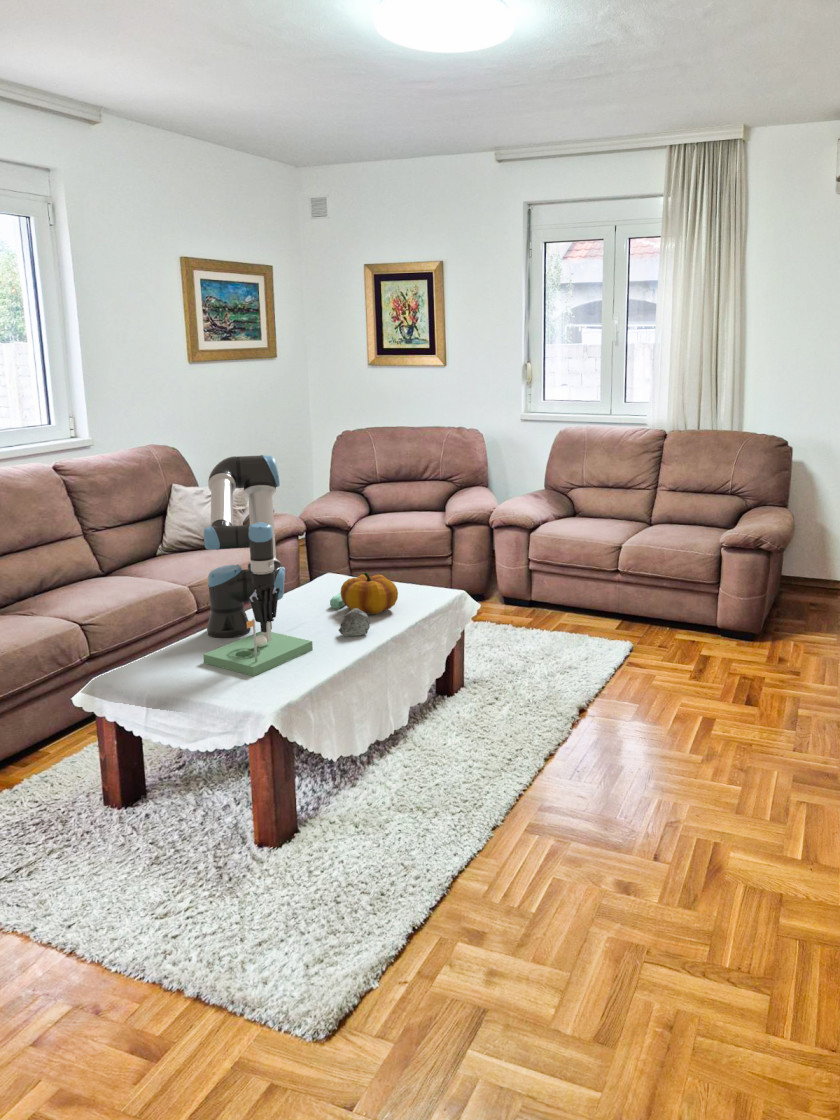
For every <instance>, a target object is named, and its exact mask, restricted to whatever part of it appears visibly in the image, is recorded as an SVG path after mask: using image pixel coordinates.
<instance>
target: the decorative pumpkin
mask: <svg viewBox="0 0 840 1120" xmlns="http://www.w3.org/2000/svg"><path fill="white" fill-rule="evenodd" d="M339 593H341V598H342V600H343V602H344V603H345V605H344V606H346V607H347V608H349V610H350V611H351V610H353V609H354V608H358V609H360V610H361V611H363V612H365V613H366V614H370V615H378V614H380V613H382V612H384V611H387V610H390V609H391V608H393V607H394V606H395V604H396V602H397V601H398V597H399V592H398V588H397V586H396V584H395V583H394V582H393V581H392V580H390V579H388V578H386V577H385V576H384V575H382V574H375V575H372V576H371V575H369V574H368V573H367V572H366V571H365V572H364V573H363V574H360V575H359V576H357V577H352V578H348V579H347V580H346V581H344V582H343V584H342V585H341V587H340V592H339Z"/></svg>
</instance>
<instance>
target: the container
mask: <svg viewBox="0 0 840 1120" xmlns="http://www.w3.org/2000/svg"><path fill="white" fill-rule="evenodd" d="M329 603H330V604H329V605H330V607H331V608H332V609H336V610H338V609H340V608H343V606H346V605H345V603H344V602H343V600H342V598H341V593H340V592H339V593H337V594H336V595H334V596H333V597H332V598H331V599H329Z"/></svg>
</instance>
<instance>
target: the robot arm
mask: <svg viewBox="0 0 840 1120" xmlns="http://www.w3.org/2000/svg"><path fill="white" fill-rule="evenodd" d="M280 485H281V484H280V476H279V471H278V467H277V461H276V458H275V457H274V456H273V455H266V454H265V455H263V454H261V455H243V456H242V455H240V456H235V455H234V456H230V457H229V456H228V457H226V458H224V459H222V460H221V461H220V462H218V464H216V465H215V466H214V468H212V471H210V474H209V476H208V489H209V491H210V495H211V496H210V526H207V527H205V528H204V529H203V540H204V541H203V542H204V548H205V549H206V550H216V551H219V550H220V551H221V550H232V549H248V548H249V553H250V556H249V560H250V561H249V562H248V564H247V569H243V568H242V566H241V565H239V564H229V565H224V566H219V567H217V568H215V569H213V570H211V571H210V572H209V573H208V576H207V577H208V578H207V579H208V583H207V586H208V593H209V594H208V595H209V606H210V607H209V608H210V613H209V616H208V617H209V618H208V623H207V625H206V633H207V636H209V637H211V638H219V639H231V638H237V637H241V636H245V635H246V634H248V633H250V631H251V627H250V628H248V629H247V622H248V621H249V619H248V618H249V617H248V614H247V613H246V611H245V604H244V603H250V605H251V609H252V612H253V617H254V618H253V619H255V623H260V631H261V632H262V635H263V636H265V637H266V638H267V642H269V641H272V638H271V632H272V629H273V625H272V622H274V621H275V618H276V616H277V610H278V609H277V608H278V601H280V600H281V599H283V597H284V592H285V590H284V589H285V578H286V576H285V575H286V568H285V567H284V566H282V564H281V563H282V562H281V561H280V560H279V559H278V558H277V551H276V535H275V533H276V532H275V519H274V517H275V516H274V504H273V502H274V501H273V496H274V494H275V493H276V492H277V488H278V487H280ZM236 489H243V493H244V494H245V496H247V497H248V515H249V524H246V525H245V524H244V525H234V492H235V490H236Z"/></svg>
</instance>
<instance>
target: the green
mask: <svg viewBox="0 0 840 1120" xmlns="http://www.w3.org/2000/svg"><path fill="white" fill-rule="evenodd" d="M248 628H250V629H251V628H253V629H252V633H253V634H251V635H248V636H245V637H243V638H241V639H237V640H236V641H235V640H234V641H233V642H231V643H227V644H225V645H223V646H221V647H218V648H216V649H214V650H213V649H212V650H210V651H208V652H205V653H203V654H202V655H203V656H202V658H203V664H207V665H209V666H214V667H218V668H222V669H225V670H229V671H233V672H238V673H240V674H244V675H247V676H253V677H255V676H257V675H259V674H262V673H264V672H266V671H269V670H271V669H273V668H275V667H277V666H279V665H283V664H284V663H286V662H289V661H291V660H293V659H295V658H298V657H300V656H302V655H304V654H306V653H308V652H311V651H313V648H314V647H313V640H309V639H305V638H301V637H300V638H299V637H296V636H292V635H287V634H281V633H278V632H273V631H271V638H272V641H269V642H267V644H266V645H265V646H264V647H258V646H257V645H256V637H257V636H259V635H262V632H261V630H260V631H258V632H256V621H255V618H252V619H251V620H248V622H247V629H248Z"/></svg>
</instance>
